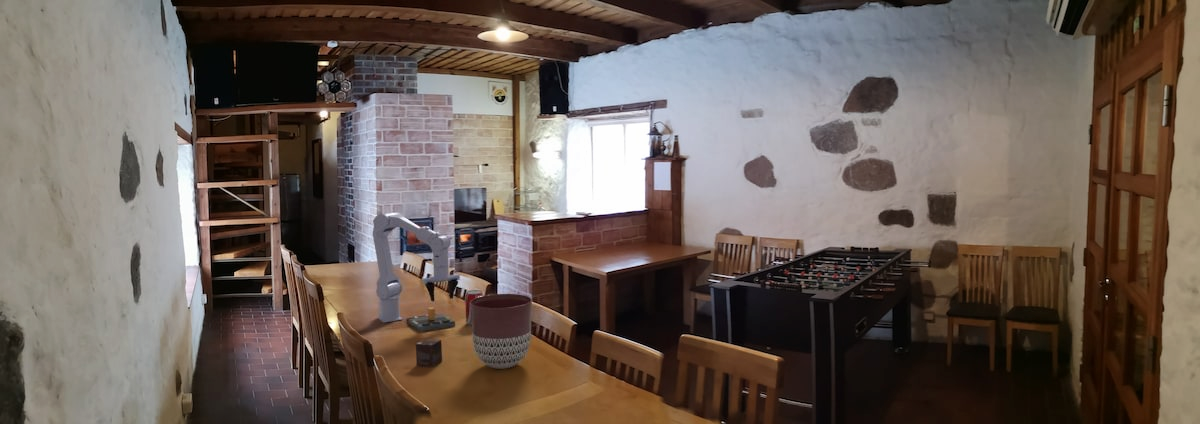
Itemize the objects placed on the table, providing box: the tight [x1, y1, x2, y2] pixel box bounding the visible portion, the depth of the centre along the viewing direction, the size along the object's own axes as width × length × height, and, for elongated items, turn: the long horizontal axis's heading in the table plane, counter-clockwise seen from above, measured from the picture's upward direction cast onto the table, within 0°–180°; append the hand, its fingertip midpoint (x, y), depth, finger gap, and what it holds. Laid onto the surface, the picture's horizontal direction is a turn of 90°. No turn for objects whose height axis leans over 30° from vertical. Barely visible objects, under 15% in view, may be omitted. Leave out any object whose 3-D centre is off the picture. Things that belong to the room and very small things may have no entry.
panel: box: [407, 313, 456, 333], centre depth 251 cm, size 14×14×3 cm
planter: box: [470, 293, 533, 370], centre depth 202 cm, size 20×20×21 cm
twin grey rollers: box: [406, 313, 438, 323], centre depth 258 cm, size 4×13×2 cm, turn 124°
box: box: [415, 338, 443, 368], centre depth 205 cm, size 6×6×7 cm
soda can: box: [464, 289, 484, 326], centre depth 252 cm, size 7×7×13 cm
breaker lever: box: [427, 306, 436, 320], centre depth 250 cm, size 3×2×4 cm, turn 34°
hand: (442, 299), depth 251 cm, fingers open, 7 cm apart
